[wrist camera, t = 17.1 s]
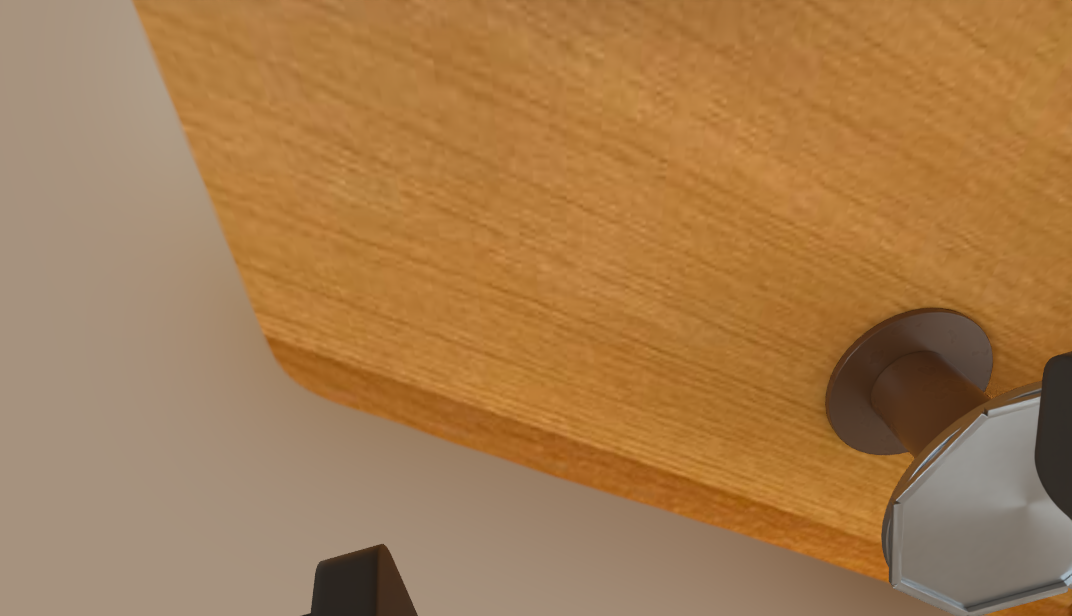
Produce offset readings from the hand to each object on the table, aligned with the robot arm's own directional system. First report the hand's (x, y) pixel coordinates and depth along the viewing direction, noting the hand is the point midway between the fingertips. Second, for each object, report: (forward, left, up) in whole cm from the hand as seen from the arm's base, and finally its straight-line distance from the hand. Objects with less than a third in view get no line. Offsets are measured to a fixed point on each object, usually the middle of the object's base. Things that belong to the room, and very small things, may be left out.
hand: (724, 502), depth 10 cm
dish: (+20, -24, -29) cm, 43 cm away
